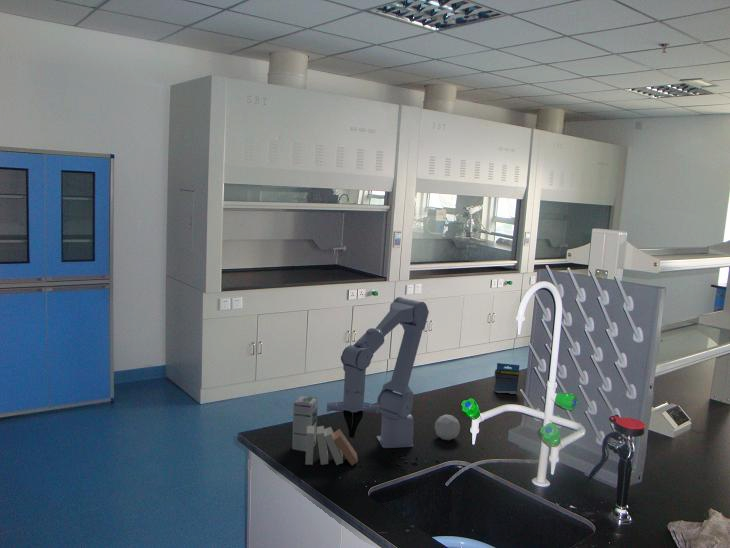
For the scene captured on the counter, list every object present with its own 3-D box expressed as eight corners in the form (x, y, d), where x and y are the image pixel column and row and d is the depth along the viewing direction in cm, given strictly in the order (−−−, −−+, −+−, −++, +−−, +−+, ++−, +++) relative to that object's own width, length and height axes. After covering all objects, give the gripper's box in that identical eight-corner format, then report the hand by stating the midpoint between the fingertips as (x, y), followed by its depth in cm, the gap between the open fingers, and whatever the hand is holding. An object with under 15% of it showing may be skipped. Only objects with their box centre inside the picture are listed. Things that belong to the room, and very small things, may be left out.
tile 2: (342, 454, 167) (330, 426, 165) (343, 462, 162) (331, 433, 160) (336, 457, 167) (324, 429, 165) (336, 465, 162) (324, 436, 160)
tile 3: (328, 455, 166) (323, 425, 165) (328, 463, 161) (323, 433, 160) (321, 456, 166) (316, 426, 165) (321, 464, 161) (316, 434, 160)
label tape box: (515, 392, 233) (518, 362, 231) (517, 395, 229) (520, 365, 227) (492, 390, 233) (495, 360, 232) (494, 393, 229) (496, 363, 228)
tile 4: (313, 456, 166) (314, 426, 165) (312, 464, 161) (314, 433, 160) (305, 456, 166) (307, 426, 165) (305, 464, 161) (306, 433, 160)
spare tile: (356, 453, 167) (339, 428, 165) (357, 461, 162) (339, 436, 160) (350, 457, 167) (333, 432, 165) (351, 465, 162) (333, 440, 160)
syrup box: (310, 452, 169) (313, 403, 167) (291, 449, 170) (293, 401, 168) (316, 444, 174) (318, 397, 172) (297, 441, 175) (299, 394, 173)
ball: (446, 444, 186) (455, 420, 189) (458, 445, 179) (468, 421, 182) (426, 433, 185) (436, 409, 188) (438, 434, 177) (448, 409, 180)
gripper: (327, 393, 157) (325, 441, 159) (381, 395, 158) (378, 443, 160) (327, 384, 164) (325, 430, 166) (379, 386, 165) (376, 432, 167)
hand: (351, 436), depth 163 cm, fingers closed
